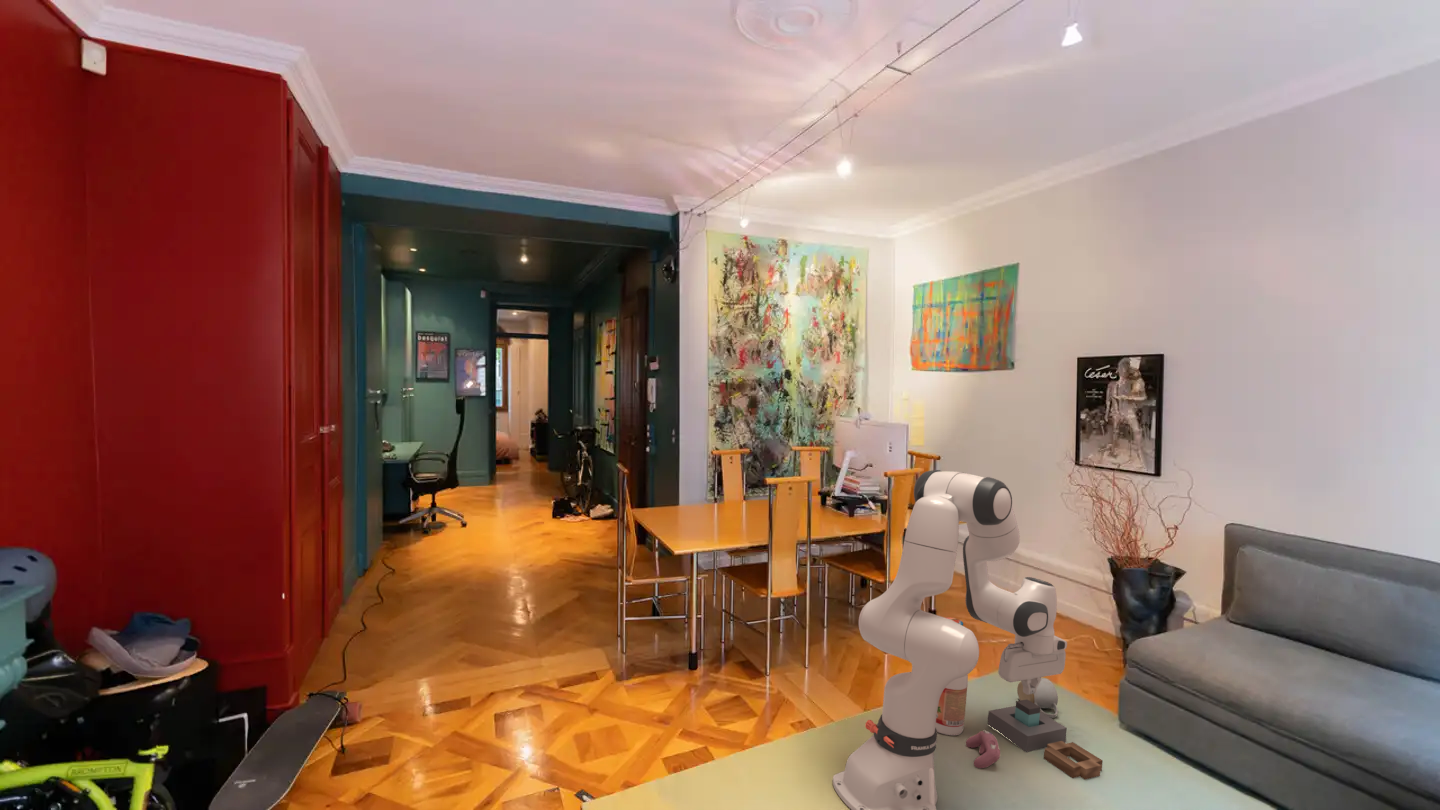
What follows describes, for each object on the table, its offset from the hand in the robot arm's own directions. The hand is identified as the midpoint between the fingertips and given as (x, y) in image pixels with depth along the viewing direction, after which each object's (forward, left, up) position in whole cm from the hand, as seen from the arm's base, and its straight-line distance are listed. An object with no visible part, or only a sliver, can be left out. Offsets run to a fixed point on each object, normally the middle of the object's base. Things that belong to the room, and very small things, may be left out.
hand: (1029, 692), depth 154 cm
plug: (0, 0, -11) cm, 11 cm away
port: (0, 0, -11) cm, 11 cm away
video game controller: (-20, -5, -11) cm, 24 cm away
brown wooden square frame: (0, -13, -11) cm, 17 cm away
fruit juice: (-19, +9, -11) cm, 24 cm away
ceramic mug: (+16, +8, -11) cm, 21 cm away
